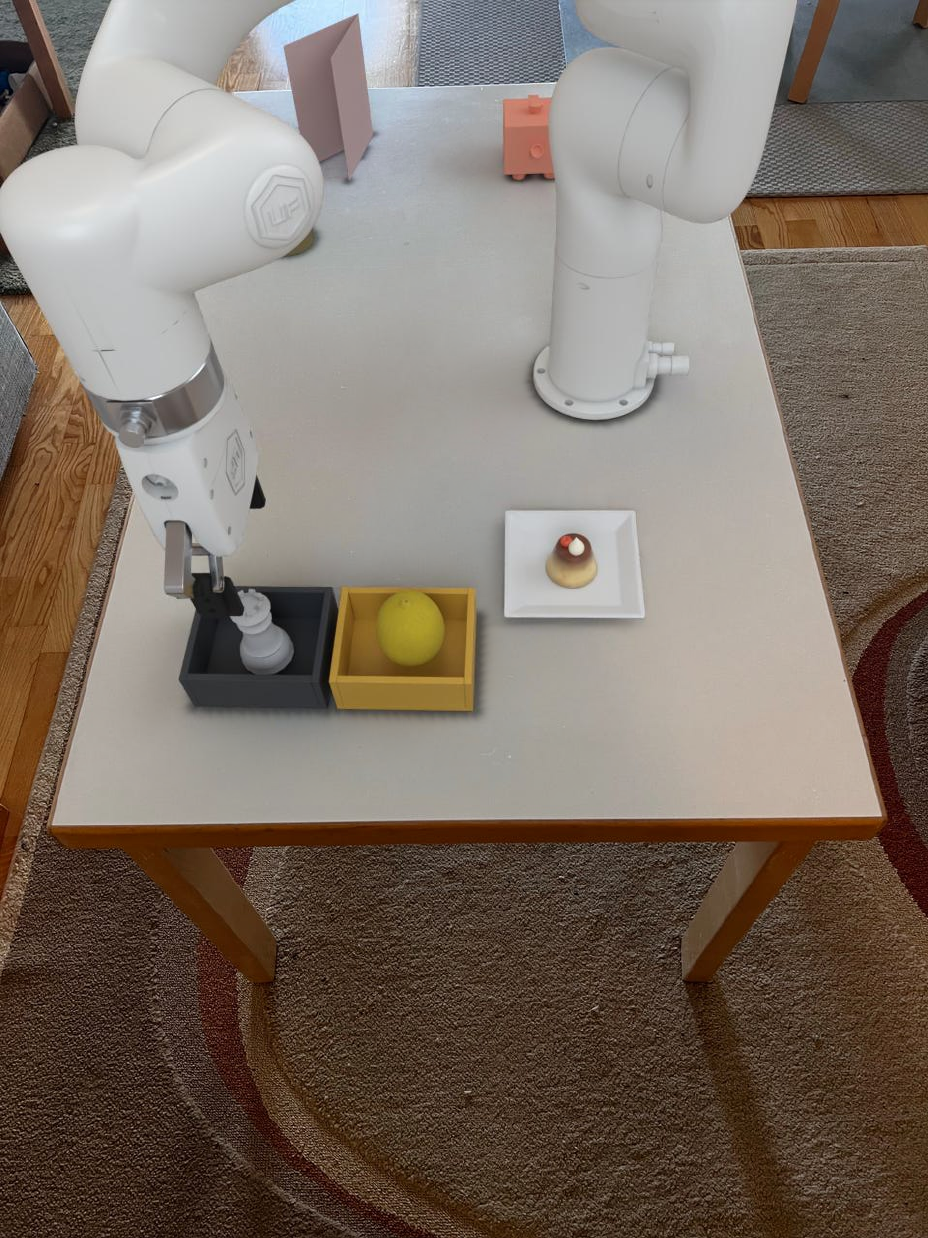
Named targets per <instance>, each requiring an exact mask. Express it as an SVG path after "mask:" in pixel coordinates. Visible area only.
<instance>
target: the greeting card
mask: <svg viewBox="0 0 928 1238" xmlns="http://www.w3.org/2000/svg"><path fill="white" fill-rule="evenodd" d="M361 32H362V31H361V23H360V15H359V13H356V14H354V15H351V16H349V17H347V18H344V19H342V20H340V21H338V22H335V23H333V24H331V25H329V26H326V27H324V28H322V29H320V30H317V31H315V32H312V33H310V34H307V35H305V36H303V37H301V38H299V39H296V40H294V41H292V42H290V43H288V44H285V45H283V51H284V57H285V62H286V63H285V64H286V68H287V74H288V79H289V83H290V89H291V94H292V99H293V105H294V111H295V116H296V122H297V126H298V133H299V134H300V135H301V136H303V138H304V139H305V140H306V141H307V143H308V144H309V145H310V146H311V148H312V149H313V151H314V153H315V154H316V157H317V159H318V161H319V163H321V162H323V161H324V160H326V159H328V158H330V157H333V156H334V155H336V154H339V153H341V152H342V151H344V157H345V164H346V170H347V176H348V182H350V181H351V179H352V177H353V176H354V173H355V171H356V169H357V168H358V166H359V164H360V161H362V157H363V156H364V154H365V152H366V149H367V148H368V146H369V144H370V142H371V140H372V138H373V136H374V130H373V124H372V123H373V122H372V115H371V105H370V97H369V89H368V81H367V74H366V73H367V72H366V65H365V64H366V63H365V55H364V47H363V40H362V33H361Z"/></svg>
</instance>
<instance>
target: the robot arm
mask: <svg viewBox="0 0 928 1238" xmlns="http://www.w3.org/2000/svg"><path fill="white" fill-rule="evenodd" d="M296 1H297V0H110V2H109V5H108V7H107V9H106V12H105V14H104V16H103V19H102V20H101V23H100V26H99V29H98V30H97V33H96V35H95V37H94V40H93V41H92V45H91V48H90V50H89V53H88V56H87V57H86V61H85V63H84V66H83V69H82V73H81V75H80V80H79V83H78V84H79V85H78V90H77V94H76V97H75V107H74V127H75V128H74V130H75V139H76V143H77V144H76V145H75V144H74V145H69V146H62V147H59V148H55V149H52V150H48V151H45V152H43V153H40V154H38V155H36V156H34V157H32V158H30V159H28V160H27V161H25V162H23V163H22V164H20V165H19V166H18V167H17V168H15V169H14V170H13V171H12V172H11V173H10V174H9V175H8V177H7V178H6V179H5V180H4V182H3V183H2V185H1V187H0V234H1V235H0V236H1V237H2V239H3V241H4V243H5V246H6V247H7V249H8V251H9V253H10V255H11V257H12V258H13V260H14V263H15V264H16V266H17V268H18V270H19V272H20V274H21V275H22V277H23V280H24V281H25V282H26V285H27V287H28V289H29V290H30V292H31V294H32V296H33V297H34V300H35V301H36V304H37V305H38V307H39V309H40V311H41V312H42V315H43V316H44V318H45V320H46V321H47V324H48V325H49V327H50V329H51V331H52V332H53V333H52V334H53V335H54V336H55V338H56V340H57V342H58V344H59V346H60V347H61V350H62V351H63V354H64V355H65V357H66V359H67V361H68V362H69V364H70V366H71V368H72V370H73V372H74V373H75V375H76V377H77V379H78V381H79V383H80V385H81V386H82V388H83V390H84V393H85V394H86V396H87V398H88V400H89V401H90V403H91V405H92V407H93V409H94V410H95V412H96V414H97V416H98V417H99V420H100V422H101V423H102V425H103V427H104V428H105V429H106V431H107V432H109V433H110V434H111V435H112V436H113V437H114V443H115V447H116V449H117V452H118V456H119V458H120V461H121V464H122V467H123V469H124V472H125V476H126V478H127V481H128V483H129V485H130V488H131V490H132V493H133V495H134V498H135V500H136V502H137V504H138V506H139V508H140V511H141V513H142V515H143V517H144V519H145V521H146V523H147V525H148V527H149V529H150V531H151V532H152V534H153V536H154V537H155V540H156V541H157V543H158V544H159V545H160V547H161V548H162V550H163V551H164V575H163V576H164V577H163V590H164V593H165V595H166V596H169V597H173V598H175V599H177V600H190V601H191V603H192V605H193V606H194V608H195V610H197V612H198V614H199V615H201V616H206V617H208V618H213V619H221V618H225V617H226V616H242V615H243V613H244V606H243V604H242V601H241V599H240V597H239V595H238V593H237V591H236V589H235V586H236V585H235V584H234V582H233V580H232V578H231V577H229V576H228V575H227V576H226V575H225V572H224V563H223V562H224V561H223V558H224V557H227V558H228V557H232V556H233V555H234V554H236V552H237V551H238V550H239V548H240V547H241V545H242V542H243V539H244V534H245V530H246V527H247V521H248V518H249V513H250V510H259V509H260V510H261V509H263V508H264V507H265V506H266V502H267V499H266V496H265V494H264V490H263V488H262V485H261V483H260V480H259V477H258V474H257V472H258V468H259V459H260V458H259V457H260V455H259V446H258V443H257V440H256V438H255V436H254V433H253V431H252V428H251V425H250V422H249V420H248V418H247V415H246V413H245V411H244V408H243V406H242V403H241V402H240V399H239V397H238V395H237V393H236V390H235V388H234V386H233V384H232V382H231V380H230V378H229V377H228V374H227V373H226V371H225V369H224V368H223V365H221V363H220V361H219V357H218V354H217V352H216V349H215V346H214V344H213V341H212V338H211V335H210V332H209V330H208V328H207V324H206V321H205V319H204V315H203V313H202V311H201V310H202V309H201V308H200V305H199V302H198V300H197V295H196V294H195V293H196V292H197V291H200V290H202V289H205V288H208V287H210V286H213V285H216V284H219V283H222V282H225V281H226V280H230V279H233V278H235V277H238V276H242V275H244V274H247V273H249V272H253V271H256V270H259V269H260V268H262V267H265V266H268V265H270V264H272V263H273V262H275V261H277V260H279V259H282V257H283V258H284V256H285V255H286V254H287V253H289V252H290V251H292V250H293V249H294V248H295V247H296V246H297V245H298V244H299V243H301V242H302V241H303V240H304V238H305V237H306V236H307V235H308V234H309V232H310V231H311V230H312V229H313V227H314V226H315V224H316V222H317V220H318V218H319V216H320V213H321V209H322V206H323V201H324V196H325V182H324V175H323V171H322V167H321V164H320V162H319V161H318V159H317V157H316V154H315V153H314V151H313V149H312V148H311V146H310V145H309V144H308V143H307V141H306V140H305V139H304V138H303V136H301V135H300V132H299V131H297V130H296V129H295V128H294V127H293V126H291V125H290V124H288V123H287V122H285V121H284V120H282V119H280V118H279V117H277V116H276V115H274V114H272V113H270V112H268V111H267V110H264V109H262V108H261V107H258V106H256V105H254V104H252V103H250V102H247V101H246V100H243V99H241V98H239V97H236V96H235V95H233V94H232V93H229V92H228V91H227V90H226V89H225V90H224V89H222V88H221V87H219V86H217V83H218V80H219V78H220V76H221V74H222V72H223V71H224V68H226V65H227V63H228V62H229V60H230V58H231V57H232V56H233V54H234V53H235V52H236V50H237V48H238V47H239V46H240V45H241V43H242V42H243V41H244V40H245V39H246V37H247V36H249V34H250V33H251V32H252V31H253V30H254V29H255V28H256V27H257V26H258V25H259V24H260V23H262V22H263V21H264V20H266V18H268V17H270V16H271V15H272V14H274V13H276V12H277V11H278V10H280V9H282V8H283V7H286V6H287V5H289V4H292V3H294V2H296ZM573 1H574V8H575V12H576V16H577V17H578V20H579V22H580V24H581V25H582V26H583V27H584V28H585V30H587V31H588V32H589V33H590V34H592V35H593V36H595V37H596V38H598V39H599V40H601V41H604V42H606V43H609V44H611V45H613V46H615V47H613V46H612V47H611V46H606V47H596V48H592V49H589V50H587V51H584V52H583V53H581V54H580V55H578V56H577V57H575V58H574V59H573V60H571V61H570V63H568V65H567V66H566V67H565V68H564V69H563V71H562V73H561V74H560V76H559V78H558V79H557V81H556V84H555V86H554V89H553V92H552V95H551V97H552V98H551V103H550V108H549V118H548V131H549V144H550V151H551V158H552V164H553V170H554V176H555V178H554V185H555V198H556V199H555V202H556V203H555V205H556V208H555V209H556V212H555V213H556V214H555V215H556V216H555V236H554V237H555V240H554V243H555V244H554V252H553V253H554V254H553V256H554V257H553V273H552V274H553V275H552V291H551V292H552V293H551V313H550V314H551V315H550V329H549V331H550V332H549V344H548V345H546V346H545V347H544V348H543V349H542V350H541V351H540V353H539V354H538V355H537V358H536V359H535V362H534V365H533V375H532V376H533V384H534V388H535V390H536V392H537V394H538V396H539V397H540V398H541V399H542V400H543V401H544V402H545V403H546V404H547V406H550V408H552V409H554V410H555V411H558V412H559V413H561V414H564V415H567V416H570V417H572V418H577V419H582V420H593V421H599V420H600V421H601V420H610V419H614V418H620V417H622V416H624V415H627V414H629V413H630V414H631V412H634V410H635V411H636V409H639V408H640V407H641V406H642V405H643V404H644V403H645V402H646V401H648V399H649V397H650V396H651V394H652V391H653V389H654V386H655V379H656V378H657V376H658V375H669V376H688V375H689V371H690V356H689V355H675V347H676V345H675V342H674V341H673V342H672V341H669V342H667V341H665V342H664V341H661V342H653V341H652V340H650V339H648V336H647V334H648V327H649V322H650V321H649V320H650V314H651V308H652V304H653V303H652V301H653V296H654V289H655V283H656V278H657V277H656V276H657V271H658V265H659V258H660V252H661V248H662V241H663V227H664V226H663V224H664V223H663V214H662V213H663V212H664V213H666V214H668V215H670V216H673V217H676V218H677V219H681V220H683V221H686V222H689V223H693V224H699V225H707V224H709V225H710V224H713V223H718V222H721V221H722V220H724V219H725V218H727V217H729V216H730V215H731V214H733V213H734V212H735V211H736V210H737V209H738V208H739V206H740V205H741V203H742V202H743V200H744V199H746V196H747V194H748V192H749V191H750V189H751V187H752V184H753V183H754V180H755V178H756V175H757V173H758V170H759V168H760V164H761V161H762V157H763V155H764V151H765V146H766V143H767V139H768V135H769V131H770V126H771V122H772V118H773V113H774V108H775V104H776V100H777V95H778V92H779V91H778V90H779V86H780V82H781V78H782V73H783V69H784V65H785V61H786V55H787V51H788V47H789V43H790V38H791V33H792V29H793V25H794V20H795V16H796V15H795V14H796V9H797V4H798V0H573ZM193 538H194V540H195V542H193ZM192 556H193V557H195V556H196V557H197V556H204V557H205V556H207V560H208V567H209V569H208V570H209V572H192Z"/></svg>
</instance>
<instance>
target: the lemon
mask: <svg viewBox="0 0 928 1238" xmlns="http://www.w3.org/2000/svg"><path fill="white" fill-rule="evenodd" d="M444 632H445V627H444V622H443V617H442V615H441V613H440V611H439V609H438V607H437V605H436V604H435V603H434V602H433V601H432V600H431V599H430V598H429V597H428V596H426V595H425V594H423V593H420V592H417V591H411V590H407V591H401V592H398V593H395V594H394V595H392V596H390V597H389V598H388V599H387V600H386V601H385V602H384V603H383V605H382V606H381V608H380V610H379V613H378V616H377V621H376V635H377V639H378V642H379V645H380V647H381V649H382V650H383V652H384V653H385V655H386V656H387V657H388V658H389V659H390V660H392V661H393V662H395V663H397V664H399V665H402V666H407V667H416V666H420V665H423V664H425V663H427V662H429V661H430V660H431V659H433V658H434V657H435V656H436V654H437V653H438V652H439V651H440V648H441V646H442V643H443V640H444Z"/></svg>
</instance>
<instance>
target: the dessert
mask: <svg viewBox="0 0 928 1238" xmlns="http://www.w3.org/2000/svg"><path fill="white" fill-rule="evenodd" d="M637 528H638V527H637V518H636V511H635V510H633V509H629V510H628V509H627V510H625V509H623V510H621V509H618V510H617V509H615V510H614V509H613V510H612V509H609V510H607V509H605V510H604V509H603V510H602V509H601V510H600V509H596V510H595V509H591V510H589V509H588V510H585V509H583V510H581V509H580V510H577V509H576V510H575V509H569V510H566V509H564V510H563V509H561V510H559V509H558V510H556V509H554V510H553V509H551V510H550V509H549V510H547V509H546V510H545V509H544V510H543V509H541V510H540V509H533V510H531V509H529V510H526V509H525V510H524V509H520V510H519V509H509V510H508V509H507V510H505V511H504V593H503V594H504V597H503V598H504V599H503V601H504V607H503V611H504V613H503V614H504V615H503V616H504V617H505V618H562V619H563V618H571V619H573V618H576V619H577V618H578V619H579V618H580V619H582V618H583V619H585V618H589V619H597V618H598V619H644V618H645V617H646V611H645V601H644V591H643V580H642V571H641V570H642V569H641V560H640V550H639V549H640V548H639V538H638V529H637Z"/></svg>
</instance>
